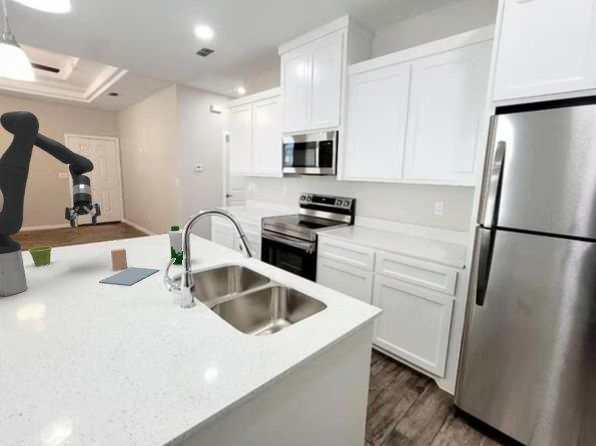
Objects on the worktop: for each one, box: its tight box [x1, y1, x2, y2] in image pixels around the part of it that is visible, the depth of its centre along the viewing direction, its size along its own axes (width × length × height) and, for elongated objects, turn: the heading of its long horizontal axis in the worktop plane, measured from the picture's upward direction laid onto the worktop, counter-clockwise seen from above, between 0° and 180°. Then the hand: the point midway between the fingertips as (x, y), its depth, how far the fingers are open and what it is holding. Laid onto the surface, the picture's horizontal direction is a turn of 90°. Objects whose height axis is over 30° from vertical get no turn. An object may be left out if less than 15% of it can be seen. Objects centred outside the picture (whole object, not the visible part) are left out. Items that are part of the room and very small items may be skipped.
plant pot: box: [28, 245, 53, 267], centre depth 155 cm, size 9×9×9 cm
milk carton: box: [167, 225, 184, 266], centre depth 161 cm, size 9×9×20 cm
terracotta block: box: [110, 247, 128, 271], centre depth 151 cm, size 4×6×10 cm, turn 129°
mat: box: [98, 266, 160, 287], centre depth 142 cm, size 20×16×1 cm
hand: (83, 225), depth 142 cm, fingers open, 8 cm apart
